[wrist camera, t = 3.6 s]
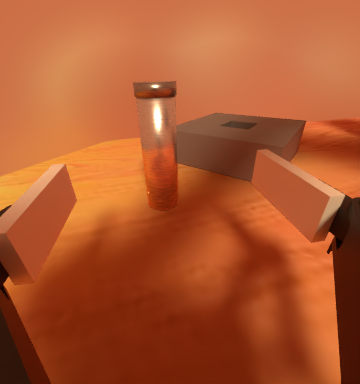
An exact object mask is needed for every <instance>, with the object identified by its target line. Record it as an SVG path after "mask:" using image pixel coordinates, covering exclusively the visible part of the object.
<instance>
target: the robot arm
mask: <svg viewBox="0 0 360 384" xmlns="http://www.w3.org/2000/svg"><path fill="white" fill-rule="evenodd" d="M251 184H252V185H253V186H254V187H255V188H256V189H257V190H258V191H259V192H260V193H261V194H262V195H263V196H264V197H265V198H266V199H267V200H268V201H269V202H270V203H271V204H272V205H273V206H274V207H275V208H276V209H277V210H279V211H280V212H281V213H282V214H283V215H284V216H285V217H286V218H287V219H288V220H289V221H290V222H291V223H292V224H293V225H294V226H295V227H296V228H297V229H298V230H299V231H300V232H301V233H302V234H303V235H304V236H305V237H306V238H307V239H308V240H309V241H310V242H311V243H312V242H319V241H325V239H326V236H327V234H328V232H331V233H332V234H333V235H334V238H333V240H332V242H331V244H330V246H329V248H328V251H327V253H328V254H329V253H330V251H333V266H334V281H335V296H336V310H337V325H338V340H339V355H340V369H341V384H360V197H359V198H353V199H352V198H350V197H349V196H347V195H345V194H343V193H342V192H340V191H338V190H337V189H335V188H332V187H331V186H330V185H327V184H326V183H325V182H323V181H321V180H319V179H317V178H315V177H314V176H312V175H310V174H308V173H307V172H305V171H303V170H302V169H300V168H298V167H296V166H295V165H293V164H291V163H290V162H288V161H286V160H285V159H283V158H281V157H279V156H278V155H276V154H274V153H273V152H271V151H269V150H267V149H264V150H257V154H256V160H255V165H254V171H253V176H252V182H251ZM76 201H77V199H76V196H75V193H74V190H73V187H72V184H71V180H70V177H69V174H68V171H67V168H66V165H65V164H58V165H52V166H51V167H50V168H49V169H48V170H47V171H46V172H45V173H44V174H43V175H42V176H41V177H40V178H39V179H38V180H37V181H36V182H35V183H34V184H33V185H32V186H31V187H30V188H29V189H28V190H27V191H26V192H25V193H24V194H23V195H22V196H21V197H20V198H19V199H18V200H17V201H16V202H15V203H14V204H13V205H10V206H8V207H6V208H5V209H3V210H1V211H0V384H51V383H50V380H49V378H48V376H47V374H46V372H45V370H44V368H43V366H42V363H41V361H40V359H39V357H38V355H37V353H36V351H35V349H34V347H33V344H32V342H31V340H30V338H29V336H28V334H27V332H26V330H25V327H24V325H23V323H22V321H21V319H20V317H19V315H18V313H17V310H16V308H15V306H14V304H13V302H12V300H11V298H10V296H9V293H8V291H7V289H6V288H5V287H4V285H3V284H4V282H5V281H6V279H7V278H8V276H9V277H10V279H11V280H12V282H13V283H14V285H20V284H27V283H34V282H35V280H36V279H37V277H38V275H39V273H40V271H41V269H42V267H43V265H44V263H45V261H46V259H47V257H48V255H49V253H50V251H51V250H52V248H53V246H54V244H55V242H56V240H57V238H58V236H59V234H60V232H61V230H62V228H63V226H64V224H65V223H66V221H67V219H68V217H69V215H70V213H71V211H72V209H73V207H74V205H75V203H76Z"/></svg>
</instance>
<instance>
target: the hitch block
mask: <svg viewBox="0 0 360 384" xmlns="http://www.w3.org/2000/svg"><path fill="white" fill-rule="evenodd" d="M305 123H306V121H303V120H291V119H280V118H267V117H257V116H245V115H234V114H223V113H214V114H211V115H208V116H205V117H202V118H198V119H196V120H193V121H189V122H186V123H183V124H180V125H177V126H176V131H177V163H180V164H184V165H188V166H192V167H196V168H200V169H204V170H208V171H212V172H216V173H220V174H224V175H228V176H231V177H235V178H239V179H243V180H247V181H251V182H252V176H253V171H254V165H255V160H256V154H257V150H264V149H267V150H269V151H271V152H273V153H274V154H276V155H278V156H279V157H281V158H283V159H285V160H286V161H288V162H290V161H291V160H292V158H293V157H294V155H295V154H296V152H297V150H298V148H299V144H300V140H301V137H302V133H303V130H304V126H305Z"/></svg>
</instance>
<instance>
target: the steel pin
mask: <svg viewBox="0 0 360 384" xmlns="http://www.w3.org/2000/svg"><path fill="white" fill-rule="evenodd" d="M133 87H134V95H135V97H136V104H137V113H138V121H139V128H140V138H141V146H142V155H143V163H144V171H145V180H146V188H147V196H148V204H149V206H150V207H151V208H153V209H155V210H169V209H172V208H174V207H175V206H177V204H178V202H179V200H178V166H177V131H176V98H175V95H176V81H145V82H133Z"/></svg>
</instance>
